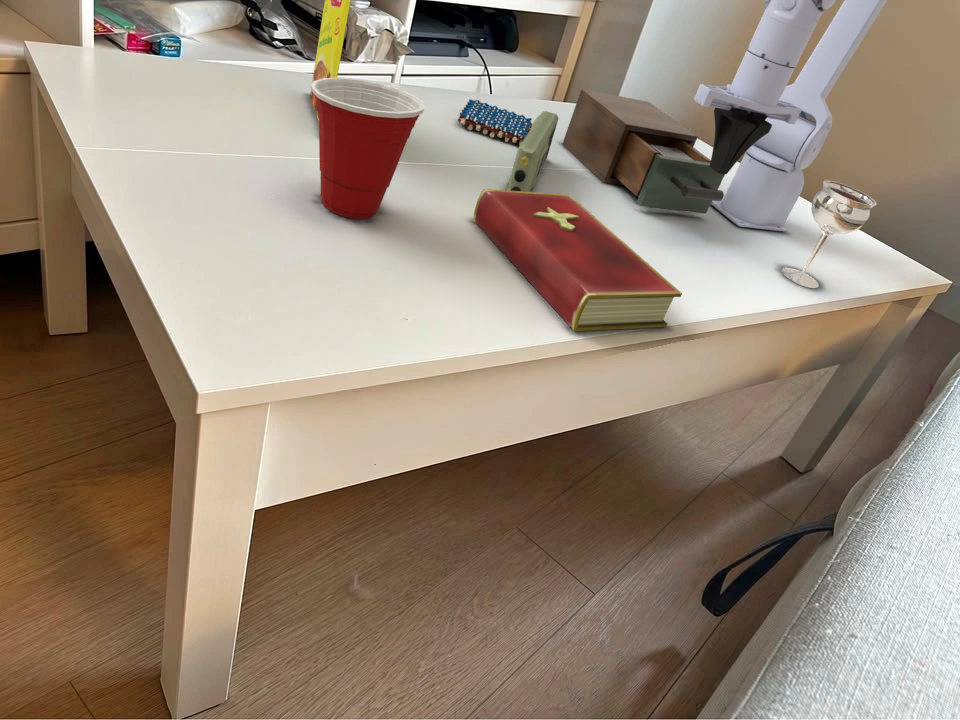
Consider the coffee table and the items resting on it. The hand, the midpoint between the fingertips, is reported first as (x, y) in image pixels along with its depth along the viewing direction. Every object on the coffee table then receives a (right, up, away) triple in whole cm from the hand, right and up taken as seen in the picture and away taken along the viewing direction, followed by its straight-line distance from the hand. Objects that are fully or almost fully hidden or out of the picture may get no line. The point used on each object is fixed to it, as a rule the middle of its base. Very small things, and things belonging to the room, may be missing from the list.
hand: (717, 170), depth 94 cm
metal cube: (-4, +1, +13) cm, 14 cm away
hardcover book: (-20, -14, -13) cm, 28 cm away
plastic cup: (-43, -7, -15) cm, 46 cm away
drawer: (-4, 0, +13) cm, 14 cm away
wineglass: (+12, -13, +5) cm, 18 cm away
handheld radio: (-24, -1, +5) cm, 24 cm away
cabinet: (-9, +6, +22) cm, 24 cm away
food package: (-50, +8, +4) cm, 51 cm away
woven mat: (-27, +11, +21) cm, 36 cm away
